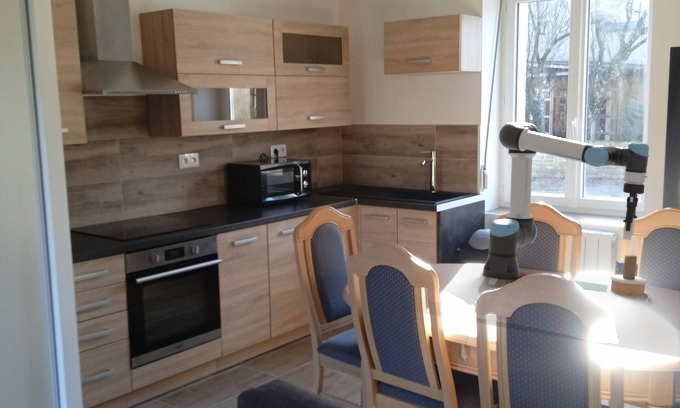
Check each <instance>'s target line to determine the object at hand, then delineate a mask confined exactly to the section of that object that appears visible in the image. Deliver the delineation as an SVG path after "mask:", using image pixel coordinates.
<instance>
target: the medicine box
mask: <svg viewBox="0 0 680 408" xmlns="http://www.w3.org/2000/svg"><path fill="white" fill-rule="evenodd" d="M623 270H624V261H622V260H621V261H620V260H619V261H617V260H616V261H615V268H614V275H623ZM638 271H639V264H638V263H637V262H636V272H635V276H637V277H638Z"/></svg>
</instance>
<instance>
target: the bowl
mask: <svg viewBox="0 0 680 408" xmlns="http://www.w3.org/2000/svg"><path fill="white" fill-rule="evenodd" d="M610 285H611V286H610V291H612V292H614V293H616V294H620V295H625V296H644V295H645V289H646V288H645V287H646V284H641V285H636V284H626V283H620V282H616V281H613V280H612V279H611V284H610Z"/></svg>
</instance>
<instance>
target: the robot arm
mask: <svg viewBox="0 0 680 408" xmlns="http://www.w3.org/2000/svg"><path fill="white" fill-rule="evenodd" d="M498 138H499V139H498V140H499V142H500V144H501V145H502V146H503V147H504V148H506V149H508V150H507V151H508V155H509V156H510V157H511V166H510V167H511V169H510V171H511V172H510V173H511V174H510V196H509V197H510V199H509V200H510V201H509V203H510V204H509V212H508V213H507V215H505V218H499V219H498V218H497V219H494V220H492V222H491V223H490V228H489V241H488V242H489V244H488V255H487V258H486V260H485V264H484V265H483V270H482V273H483V275H484V276H486V277H490V278H493V279H494V278H495V279H496V278H497V279H507V280H511V279H512V280H513V279H518V278H519V277H520V273H521V272H520V271H521V270H520V268H519V263H518V259H517V255H518V253H517V252H518V249H519V248H525V247H527V246H529V245H531V244H532V243H534V241H535V240H536V238H537V235H538V229H537V225H536V224H535V222H534V216H533V214H532V213H531V202H532V201H531V200H532V198H531V195H532V172H533V158H534V157H535V156H536V155H537V153H540V154H544V155H549V156H552V157H556V158H557V157H558V158H561V159H566V160H571V161H576V162H579V163H584V164H587V165H589V166H591V167H595V168H597V167H607V166H608V167H609V166H612V167H613V166H615V167H625V170H624V178H623V181H624V183H623V187H622V192H624V193H625V194H629V196H627V197H626V212H625V213H626V214H625V219H623V221H622V223H624V227H623V228H624V229H623V240H628V241H631V240H632V236H634V230H635V221H636V219H637V218H638V215H636V213H637V211H636V209H637V207H638V203H639V197H638V196H639V195H644V193H645V187H646V186H645V183H646V179H647V178H648V175H647V167H648V163H649V157H650V156H649V155H650V154H649V150H650V147H649V146H650V145H648V144H647V143H640V142H639V143H637V142H629V143H628V145H627V147H622V146H615V145H614V146H613V145H596V144H590V143H587V142H581V141H577V140H572V139H567V138H564V137H563V138H562V137H558V136H553V135H550V134H544V133H542V132H541V131H540V129H539V127H537V126H536V125H535V124H533V123H531V122H526V121H524V122H523V121H522V122H521V121H520V122H519V121H518V122H517V121H512V122H508V123H505V124H504V125H503V126H502V127H501V129H500V131H499V134H498Z"/></svg>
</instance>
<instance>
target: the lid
mask: <svg viewBox="0 0 680 408" xmlns="http://www.w3.org/2000/svg"><path fill="white" fill-rule="evenodd" d="M637 261H638V256H637V255H634V254H625V255H624V270H623V275H615V274H613V275H611V276H610V279H611V281H612V280H613V281H616V282H620V283H626V284H636V285H641V284H645V285H646V284H647V282H648V280H647V279H645V278H643V277H641V276H638V275H637V276H635V272H636V263H637Z"/></svg>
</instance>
